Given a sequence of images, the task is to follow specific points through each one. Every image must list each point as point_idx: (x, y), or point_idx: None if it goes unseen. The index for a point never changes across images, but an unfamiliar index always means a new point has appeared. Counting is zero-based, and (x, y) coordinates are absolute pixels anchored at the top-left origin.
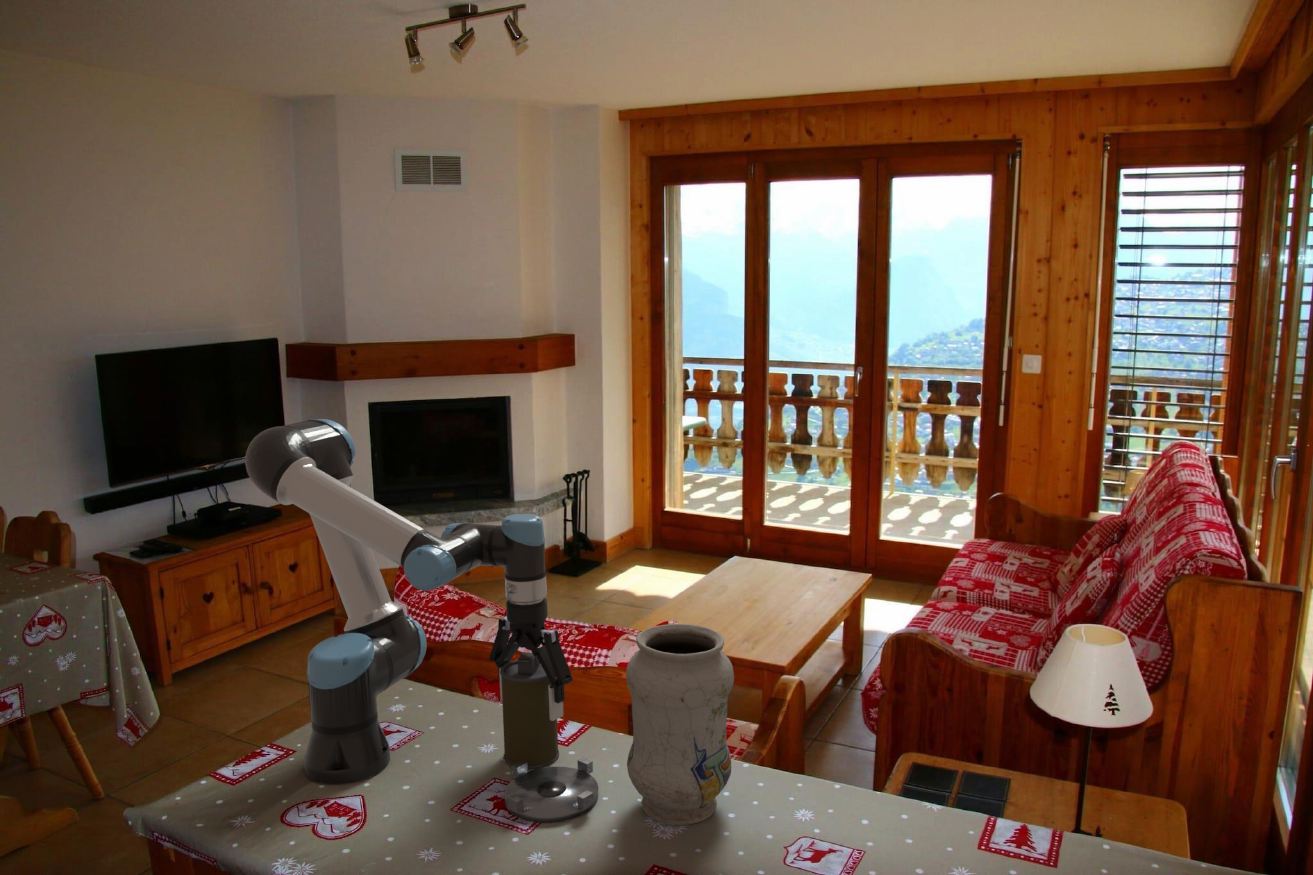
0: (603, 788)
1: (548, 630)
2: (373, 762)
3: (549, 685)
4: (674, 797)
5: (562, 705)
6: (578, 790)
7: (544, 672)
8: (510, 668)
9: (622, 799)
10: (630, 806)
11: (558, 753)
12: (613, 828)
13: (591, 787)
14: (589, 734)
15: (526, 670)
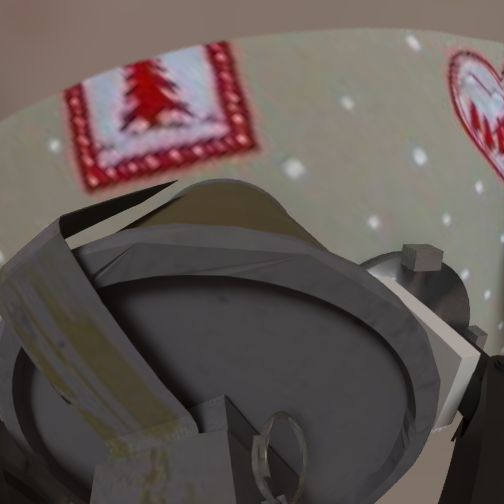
0: (449, 251)
1: None
2: None
3: (436, 424)
4: None
5: (410, 296)
6: (440, 316)
7: (343, 408)
8: (82, 470)
9: (486, 257)
10: (500, 265)
11: (281, 207)
12: (498, 324)
13: (454, 292)
14: (256, 63)
15: None
